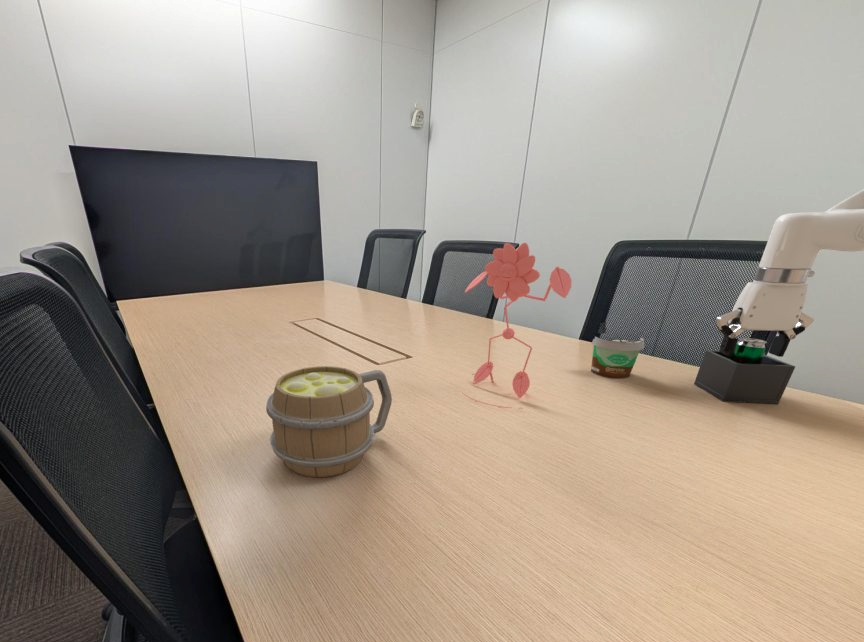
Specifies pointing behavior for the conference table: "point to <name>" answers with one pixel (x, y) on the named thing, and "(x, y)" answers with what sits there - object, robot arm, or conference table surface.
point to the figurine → (515, 297)
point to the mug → (325, 418)
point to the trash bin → (743, 378)
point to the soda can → (749, 351)
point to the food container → (615, 357)
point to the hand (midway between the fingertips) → (750, 354)
